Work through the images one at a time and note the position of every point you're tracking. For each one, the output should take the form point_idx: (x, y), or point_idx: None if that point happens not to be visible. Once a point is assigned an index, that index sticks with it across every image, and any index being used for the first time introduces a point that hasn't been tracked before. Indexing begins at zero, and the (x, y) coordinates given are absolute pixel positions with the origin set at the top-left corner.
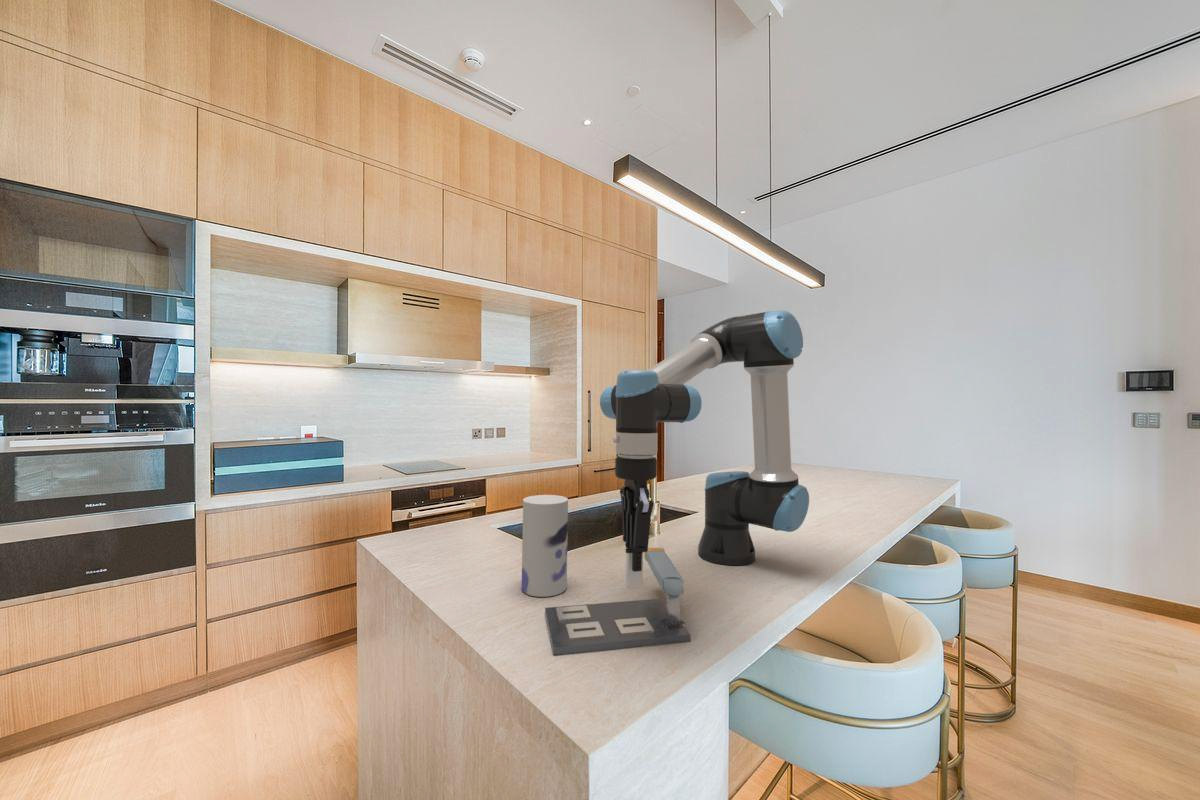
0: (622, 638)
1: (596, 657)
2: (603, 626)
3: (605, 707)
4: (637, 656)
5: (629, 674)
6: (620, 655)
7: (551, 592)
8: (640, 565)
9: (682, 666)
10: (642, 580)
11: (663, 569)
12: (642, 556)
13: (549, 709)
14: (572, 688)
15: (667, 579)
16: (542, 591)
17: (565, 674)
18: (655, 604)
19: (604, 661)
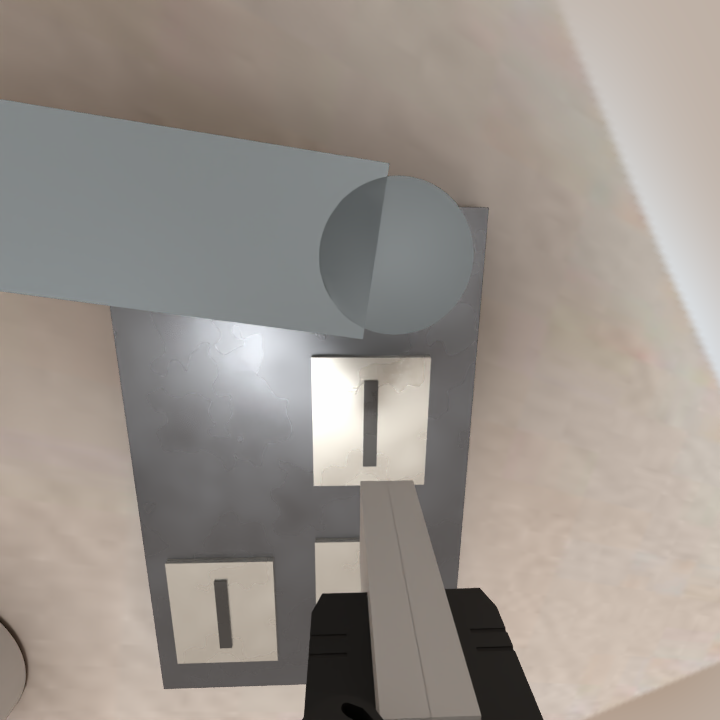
0: (447, 482)
1: (486, 555)
2: (345, 526)
3: (707, 570)
4: (518, 438)
5: (602, 485)
6: (496, 487)
7: (8, 657)
8: (503, 636)
9: (622, 311)
10: (421, 510)
11: (147, 251)
12: (462, 664)
13: (662, 677)
14: (607, 628)
15: (367, 298)
16: (11, 693)
17: (543, 638)
18: None
19: (514, 537)
